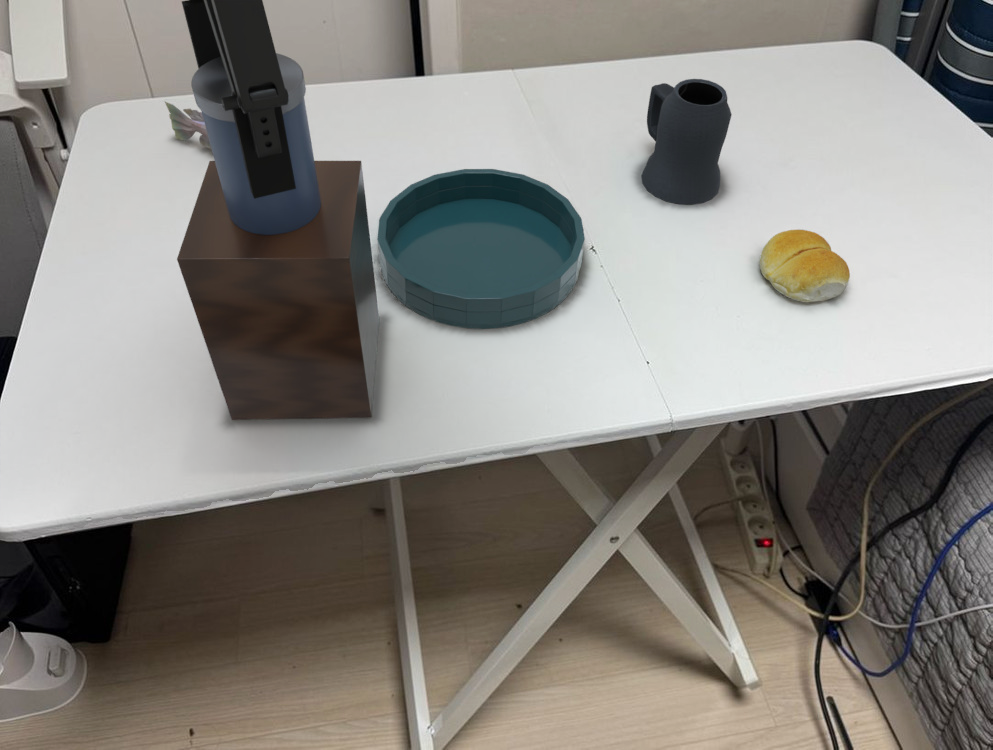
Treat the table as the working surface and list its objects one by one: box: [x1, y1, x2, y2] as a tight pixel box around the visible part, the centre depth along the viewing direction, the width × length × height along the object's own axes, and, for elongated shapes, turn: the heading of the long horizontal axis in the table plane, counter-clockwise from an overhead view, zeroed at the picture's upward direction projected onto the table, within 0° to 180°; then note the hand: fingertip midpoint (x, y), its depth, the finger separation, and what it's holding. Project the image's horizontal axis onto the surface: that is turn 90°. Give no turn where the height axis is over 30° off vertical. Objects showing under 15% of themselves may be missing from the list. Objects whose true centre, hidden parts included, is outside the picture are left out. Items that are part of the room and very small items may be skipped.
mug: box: [640, 78, 733, 206], centre depth 93 cm, size 12×9×11 cm
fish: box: [164, 101, 211, 149], centre depth 96 cm, size 3×14×5 cm, turn 63°
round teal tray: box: [376, 168, 586, 330], centre depth 85 cm, size 21×21×4 cm
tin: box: [190, 52, 321, 235], centre depth 58 cm, size 7×7×10 cm
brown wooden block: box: [176, 160, 380, 421], centre depth 69 cm, size 12×12×18 cm
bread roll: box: [759, 229, 851, 303], centre depth 84 cm, size 8×9×4 cm
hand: (247, 137), depth 57 cm, fingers open, 13 cm apart
